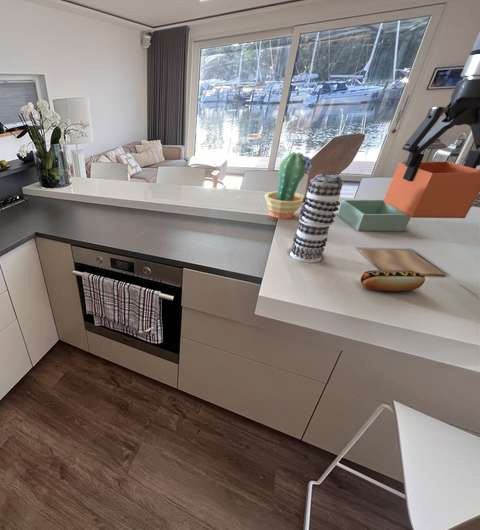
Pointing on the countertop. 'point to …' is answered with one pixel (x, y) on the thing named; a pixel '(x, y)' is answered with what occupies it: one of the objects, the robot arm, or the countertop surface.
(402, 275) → the hot dog
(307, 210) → the decorative candle
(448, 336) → the countertop surface
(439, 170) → the terracotta bin
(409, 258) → the wooden square board
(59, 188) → the countertop surface
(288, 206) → the potted cactus
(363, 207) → the sage bin
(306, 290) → the countertop surface
